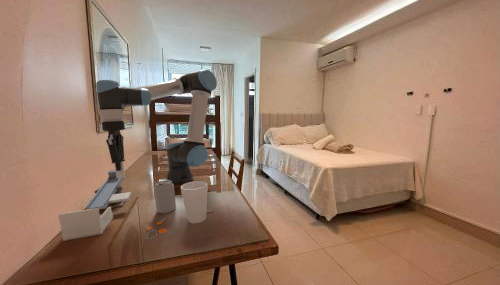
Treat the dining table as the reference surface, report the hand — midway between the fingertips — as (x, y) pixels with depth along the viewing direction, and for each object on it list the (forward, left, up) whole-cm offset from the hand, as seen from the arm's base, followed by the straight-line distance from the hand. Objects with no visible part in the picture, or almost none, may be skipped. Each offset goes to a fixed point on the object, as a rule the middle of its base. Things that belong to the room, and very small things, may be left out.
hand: (120, 177), depth 85 cm
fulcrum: (+10, -4, -14) cm, 18 cm away
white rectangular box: (+1, +15, -14) cm, 20 cm away
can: (-19, -1, -14) cm, 24 cm away
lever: (+7, -5, -7) cm, 12 cm away
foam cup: (-35, +5, -14) cm, 38 cm away
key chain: (-23, +12, -15) cm, 30 cm away
